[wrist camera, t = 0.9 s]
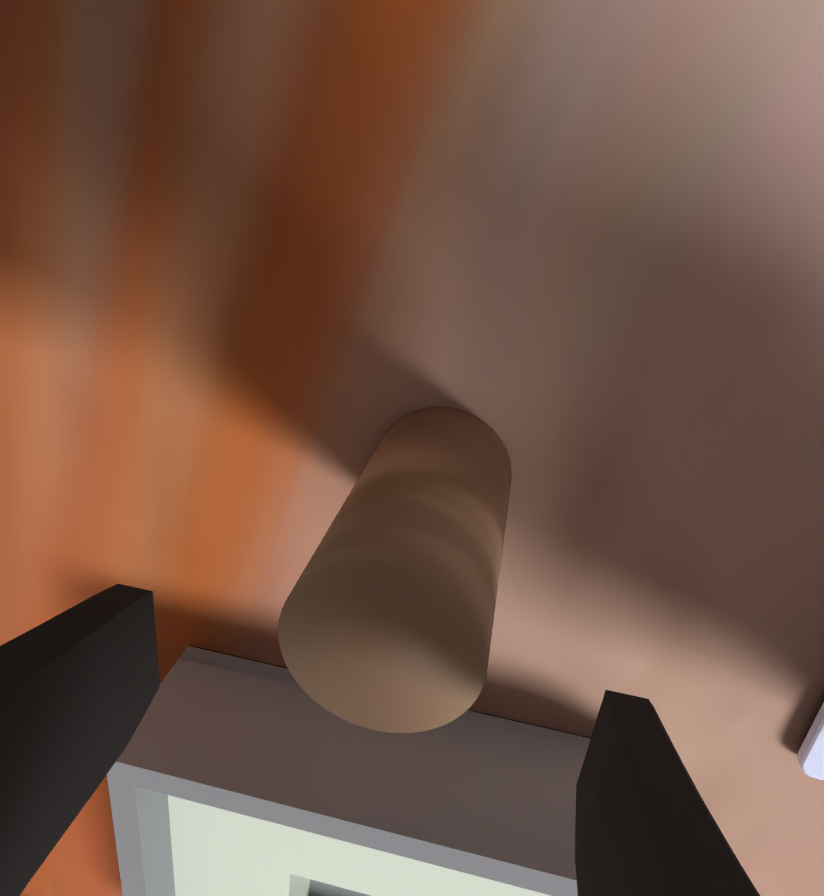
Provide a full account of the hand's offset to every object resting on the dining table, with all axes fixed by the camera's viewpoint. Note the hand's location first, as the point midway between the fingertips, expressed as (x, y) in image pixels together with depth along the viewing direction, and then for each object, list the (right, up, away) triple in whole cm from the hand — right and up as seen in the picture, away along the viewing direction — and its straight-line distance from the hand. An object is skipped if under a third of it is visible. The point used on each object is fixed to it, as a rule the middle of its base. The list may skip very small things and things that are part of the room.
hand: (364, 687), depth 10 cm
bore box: (0, -11, +14) cm, 18 cm away
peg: (+2, +3, +7) cm, 8 cm away
